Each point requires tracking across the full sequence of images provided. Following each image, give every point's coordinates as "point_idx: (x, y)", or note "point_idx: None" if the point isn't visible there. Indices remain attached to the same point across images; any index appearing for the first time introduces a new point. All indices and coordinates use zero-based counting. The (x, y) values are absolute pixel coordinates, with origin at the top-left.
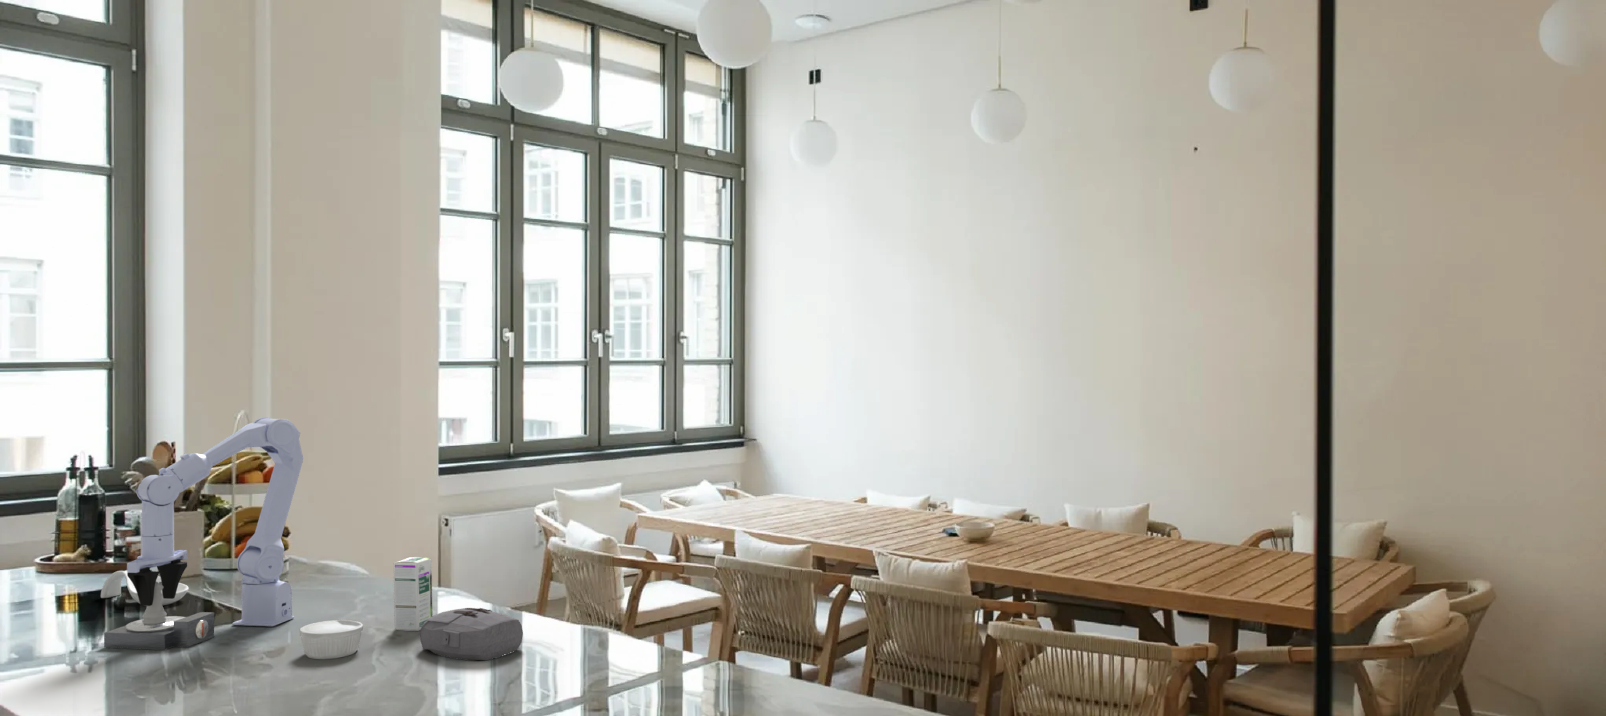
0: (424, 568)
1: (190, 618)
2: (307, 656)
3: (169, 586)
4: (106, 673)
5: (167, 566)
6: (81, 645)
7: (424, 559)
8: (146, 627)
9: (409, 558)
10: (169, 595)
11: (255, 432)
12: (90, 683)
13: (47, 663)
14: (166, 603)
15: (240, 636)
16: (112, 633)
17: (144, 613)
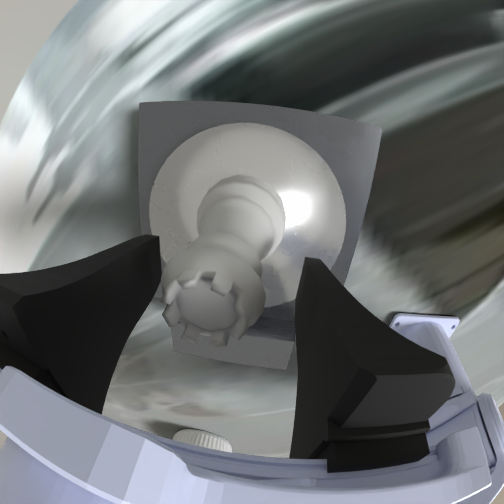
0: None
1: (210, 346)
2: (183, 429)
3: (304, 325)
4: (38, 253)
5: (314, 431)
6: (186, 23)
7: None
8: (172, 228)
9: None
10: (299, 294)
11: None
12: (15, 259)
13: (49, 94)
14: None
15: (290, 361)
16: (139, 133)
17: (213, 200)
